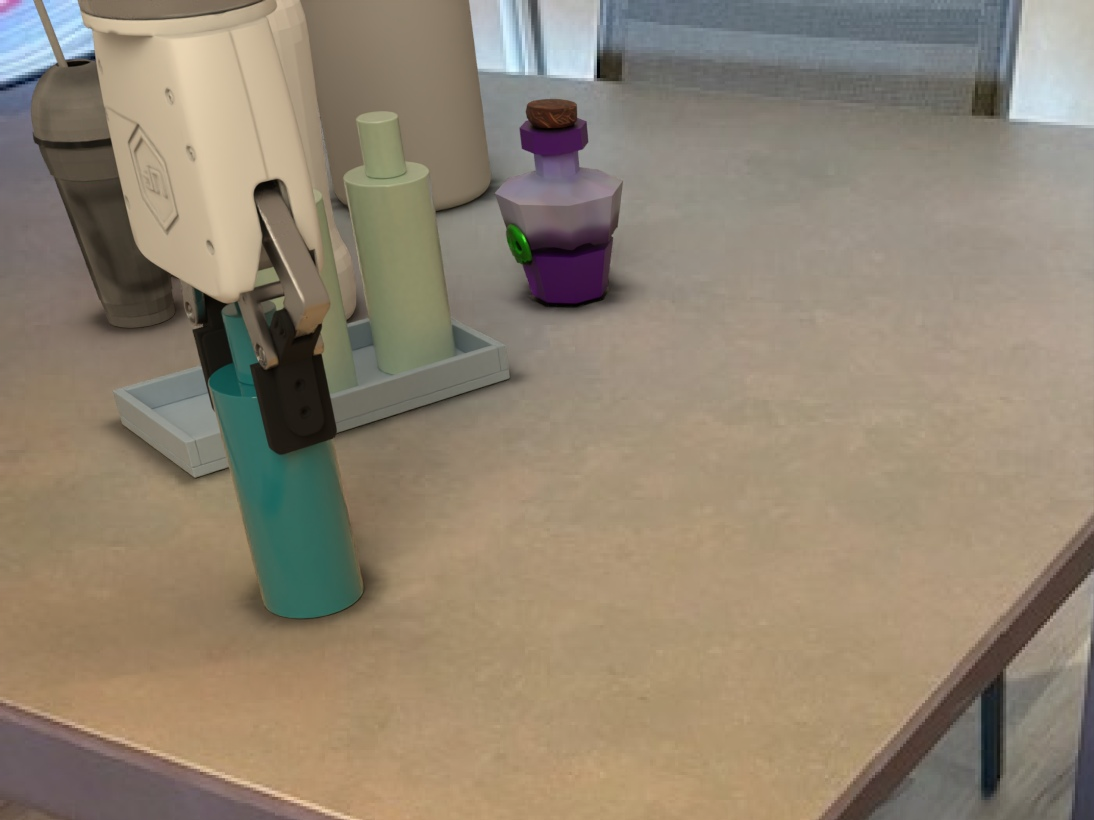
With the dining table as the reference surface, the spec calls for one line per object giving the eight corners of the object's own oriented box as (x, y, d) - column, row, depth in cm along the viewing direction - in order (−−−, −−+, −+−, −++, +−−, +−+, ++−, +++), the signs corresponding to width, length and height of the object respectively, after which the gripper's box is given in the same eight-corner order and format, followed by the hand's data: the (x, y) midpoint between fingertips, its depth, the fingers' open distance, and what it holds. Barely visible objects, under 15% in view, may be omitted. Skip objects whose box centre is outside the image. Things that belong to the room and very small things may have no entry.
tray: (194, 478, 93) (185, 442, 91) (121, 424, 99) (111, 389, 97) (510, 378, 102) (506, 344, 101) (426, 335, 108) (421, 302, 107)
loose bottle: (291, 629, 80) (220, 337, 70) (245, 592, 82) (171, 307, 73) (382, 595, 82) (325, 308, 72) (334, 560, 85) (273, 280, 75)
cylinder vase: (479, 163, 137) (432, -205, 121) (504, 206, 128) (456, -185, 112) (329, 180, 135) (259, -193, 118) (343, 225, 126) (270, -172, 109)
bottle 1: (385, 305, 113) (290, -239, 93) (310, 346, 107) (192, -222, 87) (292, 289, 116) (181, -242, 96) (215, 328, 110) (80, -226, 90)
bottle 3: (402, 383, 101) (359, 133, 91) (362, 360, 104) (317, 116, 94) (472, 362, 103) (437, 116, 94) (430, 340, 106) (393, 100, 97)
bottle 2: (299, 414, 98) (244, 159, 88) (261, 390, 100) (204, 141, 91) (373, 392, 100) (327, 140, 90) (334, 369, 103) (285, 123, 93)
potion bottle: (482, 303, 113) (455, 109, 104) (557, 264, 118) (537, 78, 110) (583, 324, 109) (564, 125, 101) (656, 283, 114) (643, 92, 106)
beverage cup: (195, 328, 111) (110, -16, 97) (84, 340, 109) (-19, -5, 96) (196, 292, 116) (114, -38, 102) (89, 303, 115) (-8, -29, 101)
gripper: (-1, -42, 68) (124, 395, 80) (174, 22, 57) (287, 510, 70) (170, -68, 71) (265, 355, 83) (362, -12, 61) (439, 459, 73)
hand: (274, 421), depth 76 cm, fingers closed on loose bottle, 5 cm apart
